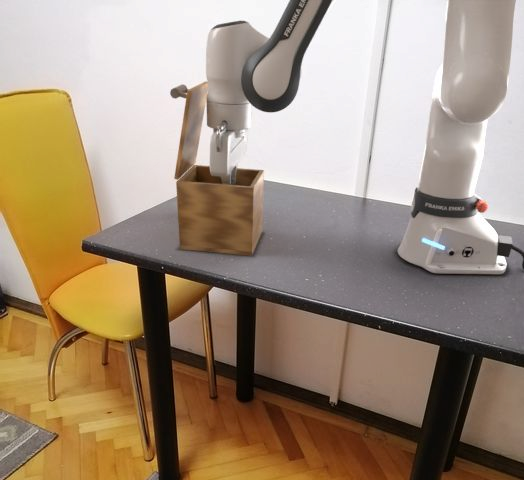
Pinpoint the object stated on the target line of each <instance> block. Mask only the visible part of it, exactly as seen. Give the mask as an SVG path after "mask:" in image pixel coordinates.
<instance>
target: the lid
mask: <svg viewBox="0 0 524 480" xmlns="http://www.w3.org/2000/svg"><path fill="white" fill-rule="evenodd" d="M207 93H208V81H207V80H205V81H203V82H201V83H199V84H197V85H194V86H192V87H191V88H188V87H187V85H185V84H182V83H181V84H180V85H178V86H176V87H173V88H171V89H170V91H169V94H170V96H171V98H172V99H175V100H176V99H178V98H182V99H185V104H184V109H183V110H184V111H183V118H182V124H181V130H180V137H179V143H178V150H177V158H176V164H175V171H174V176H173V177H174V180H175V181H178V180H179V179H180V178H181V177H182V176H183V175H184V174H185V173H186V172H187V171H188V170H189V169H190V168H191V167H192V166H193V165H196V162H197V156H198V151H199V146H200V145H199V144H200V139H201V134H202V133H201V132H202V128H203V122H204V115H205V110H206V105H207V104H206V98H207Z"/></svg>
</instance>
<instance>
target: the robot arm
mask: <svg viewBox="0 0 524 480" xmlns="http://www.w3.org/2000/svg"><path fill="white" fill-rule="evenodd" d="M446 1H447V2H446V10H445V28H444V29H445V31H444V45H443V60H442V64H441V65H440V67H439V69H438V70H437V73H436V75H435V78H434V85H433V90H432V98H431V102H430V109H429V110H430V111H429V116H428V122H427V123H428V124H427V131H426V137H425V145H424V146H425V147H424V152H423V158H422V162H421V168H420V173H419V178H418V182H417V183H418V184H417V186H416V187H415V189H414V193H413V195H412V199H411V204H410V212H409V213H410V219H409V222H408V225H407V228H406V231H405V233H404V235H403V238H402V240H401V243H400V244H399V246H398V248H397V254H398V256H399V257H400V258H402V259H403V260H404V261H406V262H407V263H410V264H412V265H415V266H418V267H421V268H423V269H424V270H426V271H428V272H430V273H432V274H443V275H444V274H445V275H446V274H447V275H448V274H449V275H451V274H454V275H455V274H456V275H503V274H504V273H505V272H506V270H507V266H508V265H507V261H506V258H509V257H510V254H511V251H512V250H513V251H514V252H517V253H518V254H519V255H520V256H521V257H522V263H521V267H522V270H524V250H522V249H521V248H519V247H517V246H515V245H514V244H513V237H512V236H507V235H498V233H497V232H496V230H495V229H494V227H492V225H491V224H490V223H489V222H488V221H487V220H486V219H485V218H484V217H483V216H482V215H481V214H483V213H485V212H487V210H488V209H489V206H488V203H487V201H485V200H483V199H482V198H481V196H479V195H478V194H477V193H476V192H475V189H476V185H477V181H478V177H479V174H480V170H481V166H482V161H483V158H484V153H485V151H484V150H485V139H486V131H487V125H488V120H489V119H490V118H492V117H493V116H494V115H496V113H498V112H499V110H500V109H501V108H502V107H503V104H504V103H505V101H506V98H507V95H508V86H509V74H510V66H511V56H512V48H513V47H512V46H513V33H514V32H513V30H514V18H515V8H516V2H517V0H446ZM335 2H336V0H288V3H287V5H286V7H285V8H284V11H283V13H282V15H281V17H280V19H279V21H278V23H277V25H276V27H275V29H274V30H273V32H272V34H271V35H270V37H267V36H266V35H264V34H263V33H261V32H260V31H258V30H257V29H256V28H255V27H254V26H252V25H251V23H249V21H246V20H235V21H229V22H224V23H219V24H216V25H214V26H213V27H212V28H211V29H210V30H209V32H208V34H207V39H206V47H205V78H206V81H207V82H208V92H207V98H206V104H205V105H206V126H207V128H210V129H212V130H213V133H212V134H211V136H210V143H209V166H210V173H211V175H212V176H218V177H221V181H222V184H226V185H232V181H231V175H232V176H233V177H234V178H235V182H236V172H237V168H238V164H239V163H240V161H241V160H242V158H243V157H244V156H245V155H246V152H247V146H248V138H249V129H250V128H252V119H253V118H252V116H253V112H252V110H253V109H252V107H254V109H257V110H258V111H261V112H263V113H271V114H272V113H277V112H281V111H283V110H284V109H286V108H288V106H290V105H291V104H292V103H293V102H294V100H295V98H296V96H297V94H298V91H299V87H300V81H301V78H302V65H303V62H304V59H305V56H306V54H307V51H308V50H309V48H310V46H311V44H312V42H313V41H314V38H315V36H316V34H317V33H318V31H319V29H320V28H321V26H322V24H323V21H324V19H325V18H326V17H327V16H326V15H327V14H328V12H329V11H330V9H331V7H333V5H334V3H335ZM480 213H481V214H480Z"/></svg>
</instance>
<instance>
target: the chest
mask: <svg viewBox="0 0 524 480" xmlns="http://www.w3.org/2000/svg"><path fill="white" fill-rule="evenodd" d="M264 181H265V170H264V169H253V168H241V167H237V172H236V182H235V185H226V184H222V181H221V177H218V176H212V175H211V173H210V165H201V164H194V165H193V166H192V167H191V168H190V169H189V170H188V171H187V172H186V173H185V174H183V175H182V176H181V177H180V178H179V179H178V180H176V182H175V186H176V205H177V223H178V239H179V241H178V242H179V250H185V251H186V250H187V251H195V252H196V251H197V252H206V253H207V252H208V253H218V254H229V255H239V256H240V255H241V256H250V257H252V256H253V254H254V253H255V249H256V247H257V245H258V243H259V240H260V238H261V236H262V233H263V214H264V213H263V208H264V183H265V182H264Z"/></svg>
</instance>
